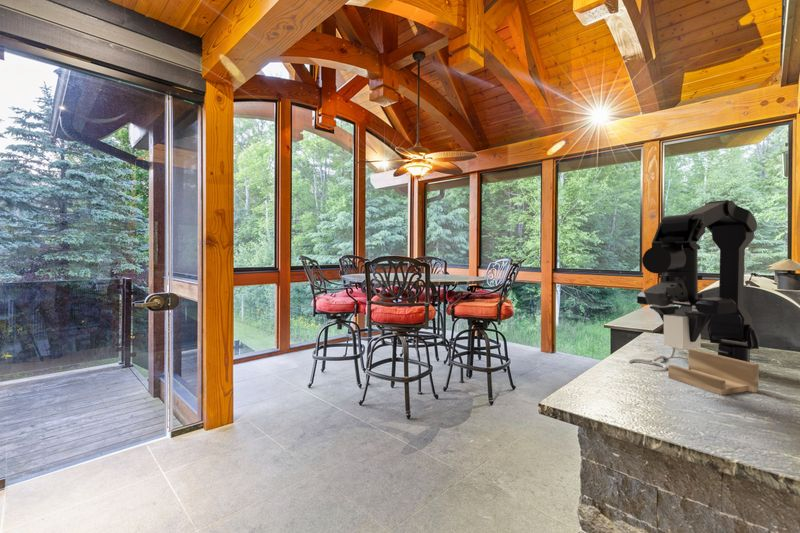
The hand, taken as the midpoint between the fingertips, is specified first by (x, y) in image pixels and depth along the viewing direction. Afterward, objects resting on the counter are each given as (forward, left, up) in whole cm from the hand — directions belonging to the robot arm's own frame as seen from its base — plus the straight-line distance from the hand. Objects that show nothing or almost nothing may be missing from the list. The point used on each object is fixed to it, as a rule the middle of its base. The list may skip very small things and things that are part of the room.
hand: (682, 339), depth 84 cm
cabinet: (0, 0, -2) cm, 2 cm away
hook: (-13, -17, -12) cm, 24 cm away
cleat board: (-8, 0, -11) cm, 14 cm away
